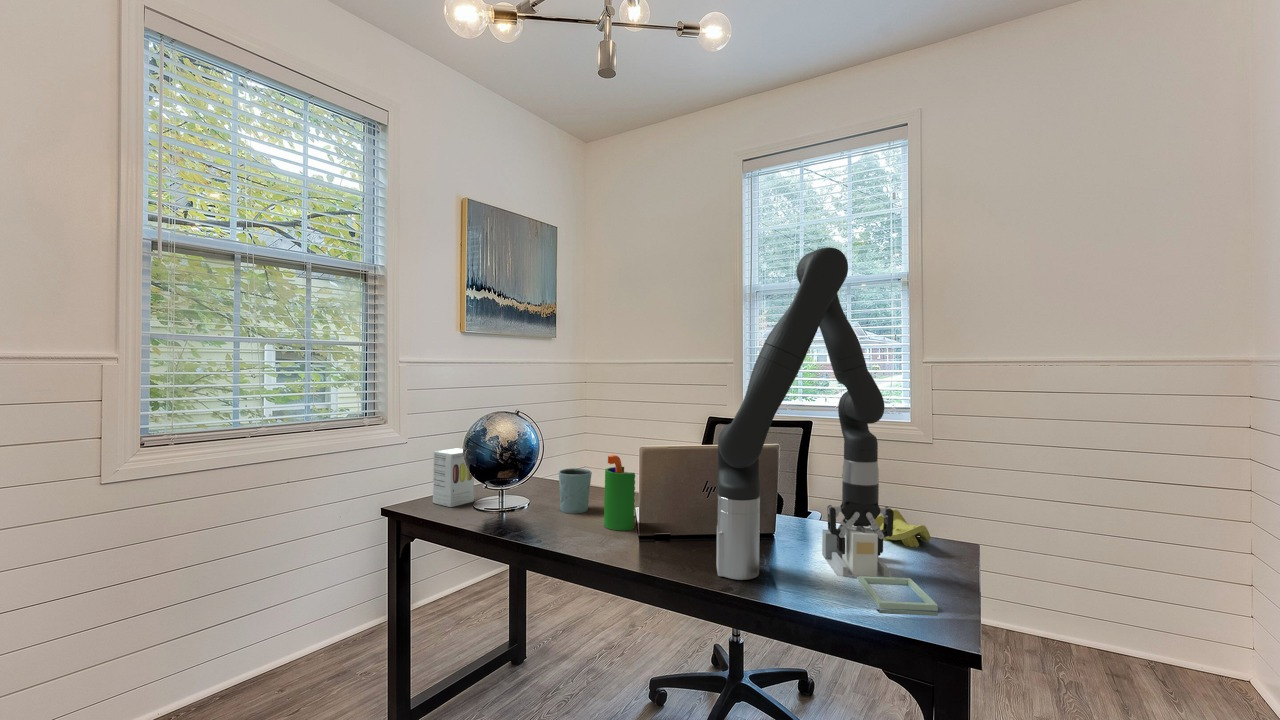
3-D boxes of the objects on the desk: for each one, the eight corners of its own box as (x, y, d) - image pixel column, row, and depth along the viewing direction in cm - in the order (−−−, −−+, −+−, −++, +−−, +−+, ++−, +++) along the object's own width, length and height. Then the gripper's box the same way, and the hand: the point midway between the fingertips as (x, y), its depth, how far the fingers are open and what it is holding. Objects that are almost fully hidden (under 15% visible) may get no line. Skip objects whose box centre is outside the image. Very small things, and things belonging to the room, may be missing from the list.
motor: (643, 527, 155) (643, 456, 155) (616, 533, 150) (616, 459, 150) (623, 518, 163) (624, 451, 163) (597, 523, 158) (597, 453, 158)
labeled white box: (852, 575, 119) (853, 529, 119) (841, 561, 128) (842, 518, 128) (877, 576, 119) (878, 530, 119) (865, 562, 127) (865, 519, 127)
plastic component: (866, 520, 156) (899, 506, 155) (879, 545, 155) (912, 531, 154) (890, 538, 136) (928, 522, 135) (904, 566, 135) (943, 550, 135)
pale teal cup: (552, 508, 173) (553, 470, 173) (580, 503, 179) (580, 466, 179) (568, 516, 165) (569, 476, 165) (597, 510, 171) (597, 472, 171)
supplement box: (450, 508, 173) (450, 454, 173) (431, 503, 178) (432, 451, 178) (474, 501, 181) (475, 449, 181) (456, 497, 186) (456, 447, 186)
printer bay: (837, 580, 119) (837, 548, 119) (822, 558, 132) (822, 529, 132) (894, 582, 118) (895, 550, 118) (873, 560, 131) (874, 531, 131)
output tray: (879, 613, 104) (879, 602, 104) (858, 585, 117) (858, 576, 117) (937, 615, 103) (937, 605, 103) (910, 587, 116) (910, 578, 116)
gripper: (831, 483, 120) (831, 558, 120) (900, 484, 119) (899, 561, 119) (823, 475, 128) (822, 547, 128) (887, 477, 126) (886, 549, 127)
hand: (859, 553), depth 123 cm, fingers open, 7 cm apart
